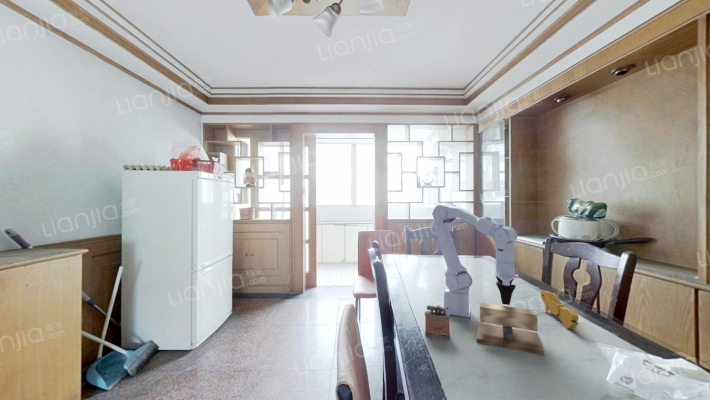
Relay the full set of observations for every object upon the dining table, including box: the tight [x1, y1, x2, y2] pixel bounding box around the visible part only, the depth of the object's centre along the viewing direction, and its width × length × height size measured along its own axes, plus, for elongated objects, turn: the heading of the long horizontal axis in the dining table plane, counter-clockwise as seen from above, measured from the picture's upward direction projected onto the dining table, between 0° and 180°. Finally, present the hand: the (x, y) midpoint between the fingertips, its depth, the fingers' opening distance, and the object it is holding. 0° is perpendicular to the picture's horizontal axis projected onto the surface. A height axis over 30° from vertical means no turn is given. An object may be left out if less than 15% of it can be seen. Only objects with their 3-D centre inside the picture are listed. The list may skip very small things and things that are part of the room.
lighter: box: [424, 305, 451, 340], centre depth 92 cm, size 8×3×10 cm, turn 71°
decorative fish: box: [540, 290, 580, 330], centre depth 103 cm, size 22×3×10 cm, turn 169°
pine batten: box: [479, 302, 538, 332], centre depth 89 cm, size 16×4×5 cm, turn 64°
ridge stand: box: [476, 322, 545, 356], centre depth 89 cm, size 18×12×5 cm, turn 64°
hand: (505, 300), depth 95 cm, fingers open, 7 cm apart
